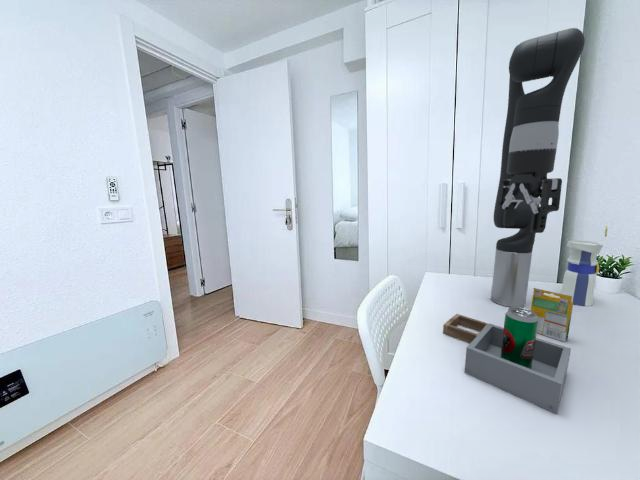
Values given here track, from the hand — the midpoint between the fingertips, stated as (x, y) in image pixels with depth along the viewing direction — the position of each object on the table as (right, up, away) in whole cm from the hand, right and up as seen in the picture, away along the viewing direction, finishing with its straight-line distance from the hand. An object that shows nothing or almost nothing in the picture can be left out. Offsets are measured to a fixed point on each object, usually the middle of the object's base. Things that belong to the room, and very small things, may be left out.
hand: (521, 228), depth 56 cm
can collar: (-5, -26, +11) cm, 29 cm away
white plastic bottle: (+40, -22, +29) cm, 54 cm away
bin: (-4, -29, -4) cm, 29 cm away
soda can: (-4, -28, -4) cm, 29 cm away
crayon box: (+14, -26, +10) cm, 32 cm away
